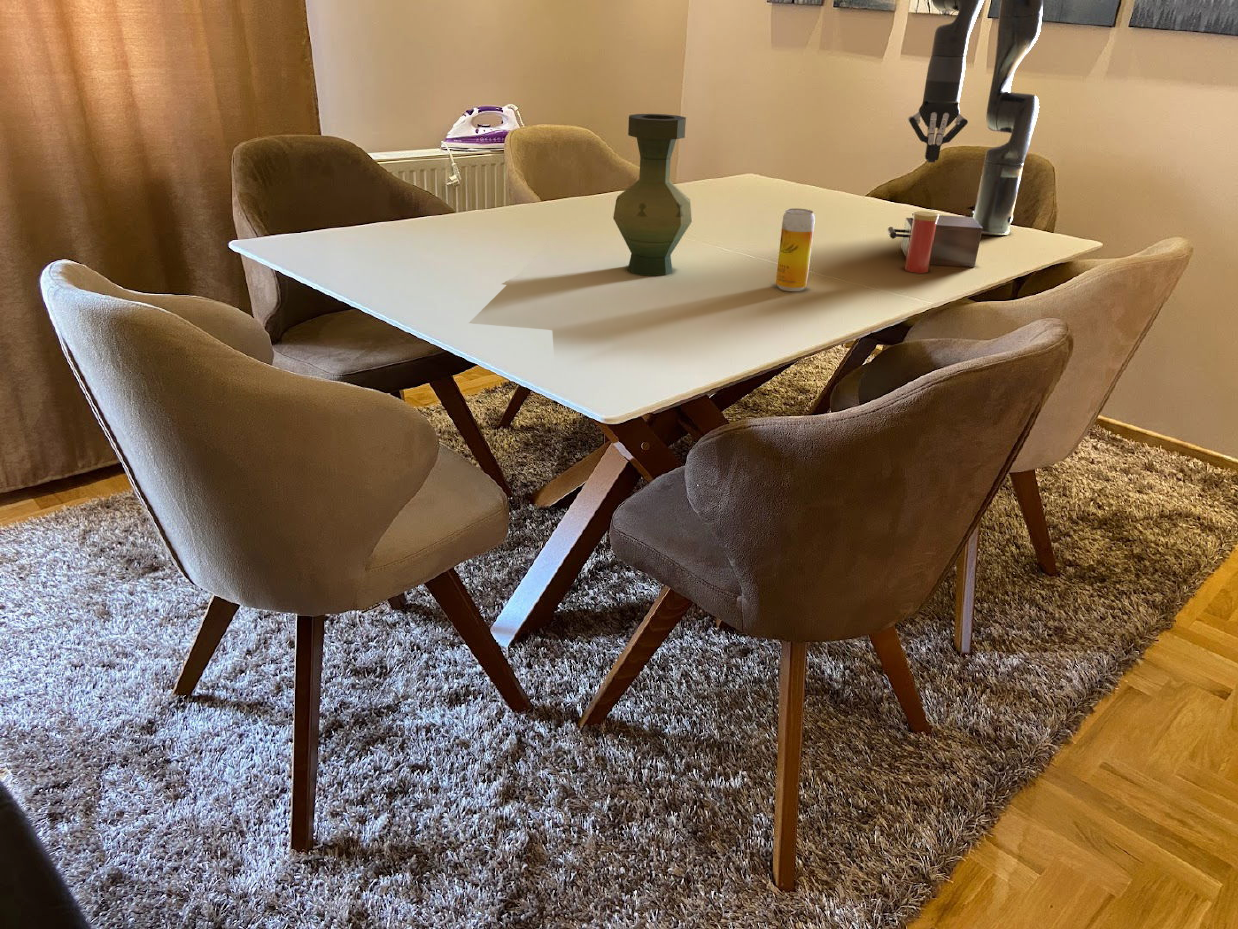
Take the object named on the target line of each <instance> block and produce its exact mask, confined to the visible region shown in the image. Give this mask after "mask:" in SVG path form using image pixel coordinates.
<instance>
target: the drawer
mask: <svg viewBox="0 0 1238 929" xmlns="http://www.w3.org/2000/svg"><path fill="white" fill-rule="evenodd" d="M912 224H913V220H912V219H911V217H905V220H904V226H903V229H900V228H894V227H893V226H889V227H887V233H888V235H889V237H890V238H891V239H892V240H893V239H897V238H901V244H900V249H901V251H902V252H903V255H904V256H905V258H906V259H907V253H908V248H909V242H910V236H911V230H912Z"/></svg>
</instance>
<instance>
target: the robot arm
mask: <svg viewBox="0 0 1238 929" xmlns="http://www.w3.org/2000/svg"><path fill="white" fill-rule="evenodd" d="M984 1H985V0H931V2H932V5H933V7H935V8H936V9H937V10H939V11H941V12H958V13H957V15H956V17H955V19H954V20H953V21H952V22H950V23H945V24H940V25H939V26H937V27H936V29H935V31H934V36H933V40H932V41H933V42H932V48H931V55H930V59H929V63H928V67H927V70H926V72H927V73H926V79H925V84H924V90H923V96H922V97H923V98H922V102H921V106H920V107H918V108H919V109H918V112H916V113H915V114H913V115H910V116H908V118H907V121H908V123H909V124H910V126H911V127H912V129H913V131H914V132H915V135H916V136H917V137H918V140H919V141H920V142H921V143H924V144H925V145H926V147H925V154H924V158H925V160H926V163H927V164H928V163H929V164H931V163H932V164H933V163H934V164H935V163H936V161H938V160H939V159H940V154H941V147H942V145H944V144H949V143H950V142H951V141H952V140H953V139H954V138H955V137H956V136H957V135H958V134H959V133H960V132H961V131H962V130H963V129H964V128H965V127H966V126H967V125H968V123H969V121H968V119H966V118H965V117H963V115H961V114H960V112H961V110H960V105H959V104H960V99H961V92H962V87H963V81H964V78H965V70H966V56H967V51H968V45H969V39H970V35H971V32H972V30H973V28H974V24H975V22H976V20H977V17H978V15H979V13H980V10H981V9H982V6H983V3H984ZM1043 9H1044V0H1000V5H999V12H998V13H999V14H998V23H997V34H996V48H995V56H994V57H995V58H994V64H993V65H994V66H993V74H992V78H991V83H990V84H991V85H990V90H989V95H988V101H987V106H986V114H985V116H986V117H985V118H986V119H985V120H986V121H985V122H986V126H987V128H988V129H989V131H991V132H996V133H1003V134H1010V137H1009V140H1008V141H1007V142H1005V143H1003V144H1002V145H998V146H994V147H990V148H988V149H987V150H986V152H985V156H984V160H983V166H982V171H981V176H980V180H979V186H978V192H977V197H976V201H975V203H974V204H973V207H974V210H972V211H971V212H970V215H971V216H970V217H973V218H974V219H975V220H976V221H977V222H978V224H979V225H980V226H981V227H982V228H983V229H982V234H981V235H986V236H987V235H988V236H1007V235H1009V234H1010V227H1011V224H1012V222H1013V219H1014V210H1015V205H1016V201H1017V197H1018V193H1019V187H1020V183H1021V178H1022V173H1023V170H1024V169H1023V168H1024V164H1025V160H1026V157H1027V155H1028V151H1029V148H1030V145H1031V141H1032V136H1033V133H1034V129H1035V126H1036V122H1037V118H1038V113H1039V108H1040V106H1039V104H1040V103H1039V99H1038V97H1037V96H1036V95H1035V94H1032V93H1021V92H1011V86H1012V81H1013V78H1014V74H1015V72H1016V70H1017V68H1018V66H1019V65H1020V63H1021V62H1022V60H1023V59H1024V58H1025V56H1026V55H1027V54H1028V53H1029V51H1030V50H1031V49H1032V47H1033V46H1034V44H1035V43H1036V41H1037V40H1038V37H1039V35H1040V32H1041V26H1042V17H1043ZM921 120H922V121H923V123H924V125H925V126H926V127H927V129H926V132H927V134H926V135H925V134H924V131H923V130H922V128H921V127H920V125H919V124H921ZM953 122H954V126H953V127H952V128H951V129H950V130H948V132H947V133H946V129H948V127H949V126H950V125H952V123H953ZM945 133H946V134H945Z"/></svg>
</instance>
